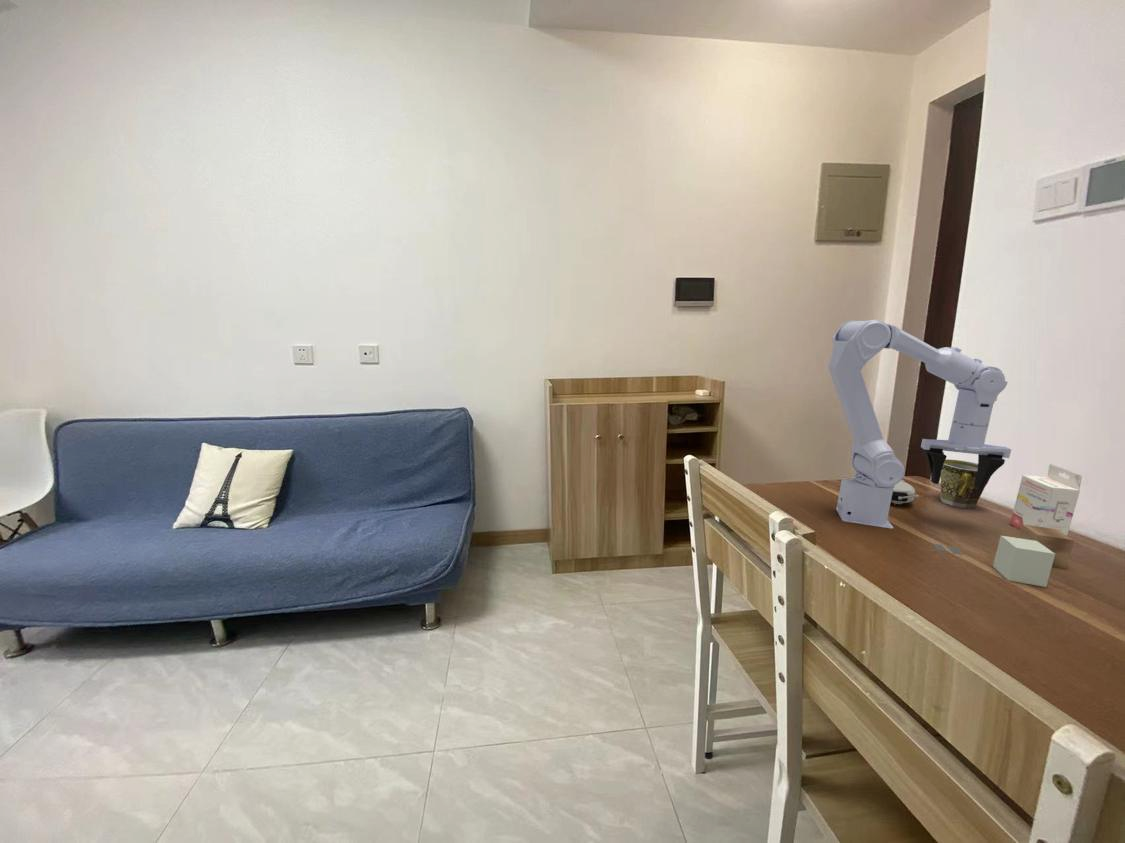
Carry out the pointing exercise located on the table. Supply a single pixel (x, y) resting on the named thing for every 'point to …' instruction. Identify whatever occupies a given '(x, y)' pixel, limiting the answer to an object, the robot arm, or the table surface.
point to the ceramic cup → (959, 483)
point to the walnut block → (1050, 542)
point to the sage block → (1023, 561)
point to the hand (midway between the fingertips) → (956, 485)
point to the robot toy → (902, 493)
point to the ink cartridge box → (1047, 500)
